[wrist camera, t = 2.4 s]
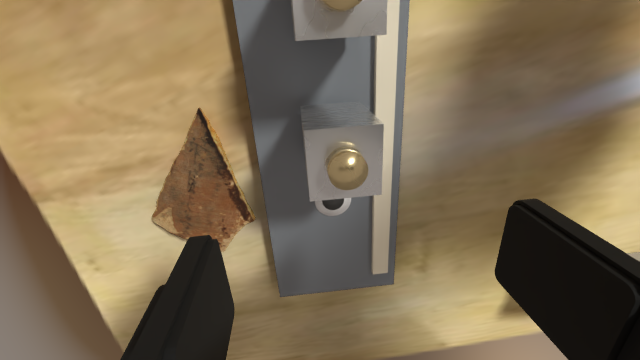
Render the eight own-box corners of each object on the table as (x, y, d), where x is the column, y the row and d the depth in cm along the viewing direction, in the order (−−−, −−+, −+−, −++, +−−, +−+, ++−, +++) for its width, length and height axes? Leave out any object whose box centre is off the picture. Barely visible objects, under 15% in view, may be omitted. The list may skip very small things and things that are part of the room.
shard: (204, 103, 23) (197, 108, 21) (293, 151, 25) (293, 159, 23) (153, 212, 26) (144, 224, 24) (235, 246, 28) (232, 259, 27)
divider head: (299, 104, 21) (304, 136, 14) (357, 99, 21) (389, 129, 14) (304, 158, 22) (311, 210, 16) (357, 153, 23) (386, 203, 16)
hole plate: (225, -66, 18) (218, -78, 16) (405, -75, 19) (417, -87, 17) (280, 285, 30) (279, 301, 28) (388, 273, 31) (395, 288, 29)
